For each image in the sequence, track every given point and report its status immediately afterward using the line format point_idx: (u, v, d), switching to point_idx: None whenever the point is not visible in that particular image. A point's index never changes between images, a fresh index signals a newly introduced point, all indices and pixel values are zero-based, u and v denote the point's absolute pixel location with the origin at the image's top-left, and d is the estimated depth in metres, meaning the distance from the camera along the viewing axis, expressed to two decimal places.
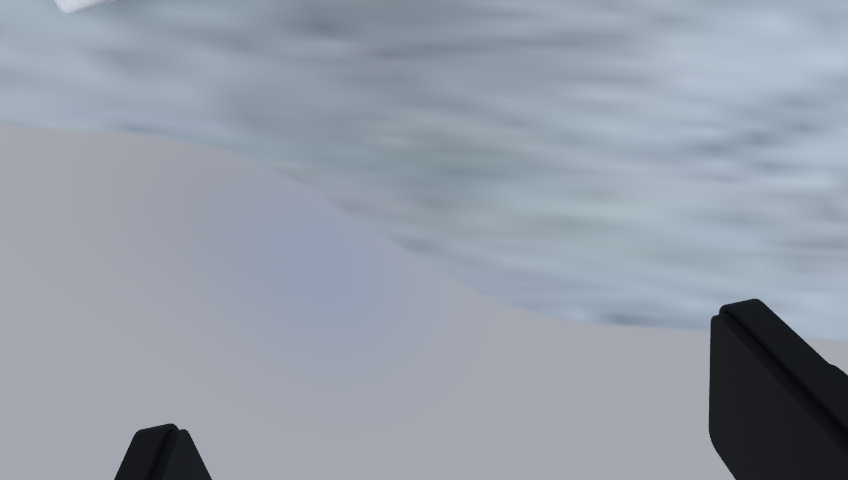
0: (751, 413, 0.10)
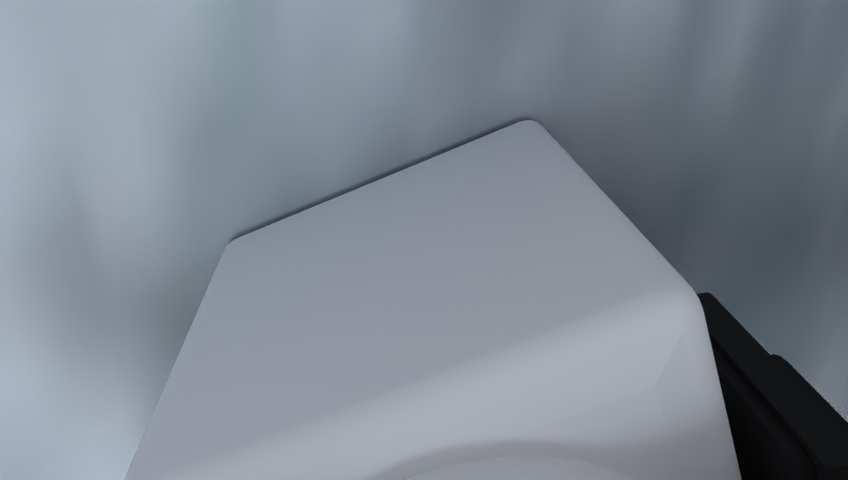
0: None
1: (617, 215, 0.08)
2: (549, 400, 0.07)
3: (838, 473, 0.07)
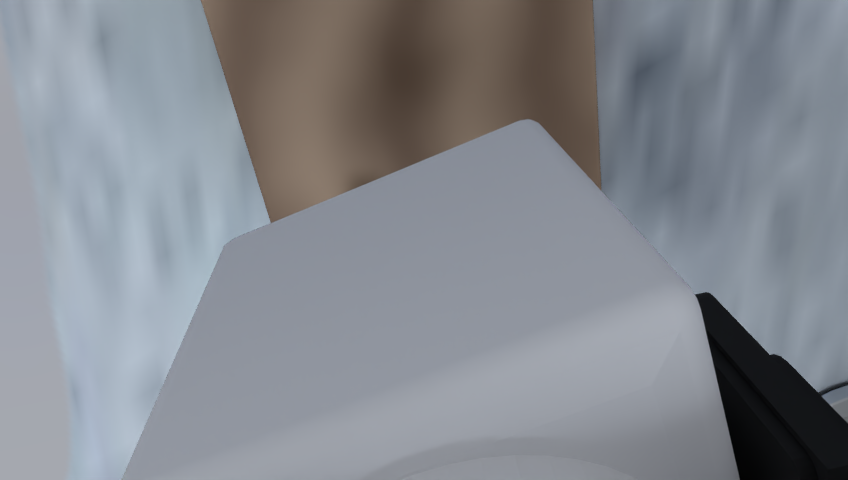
0: None
1: (614, 214, 0.08)
2: (547, 399, 0.07)
3: (837, 473, 0.07)
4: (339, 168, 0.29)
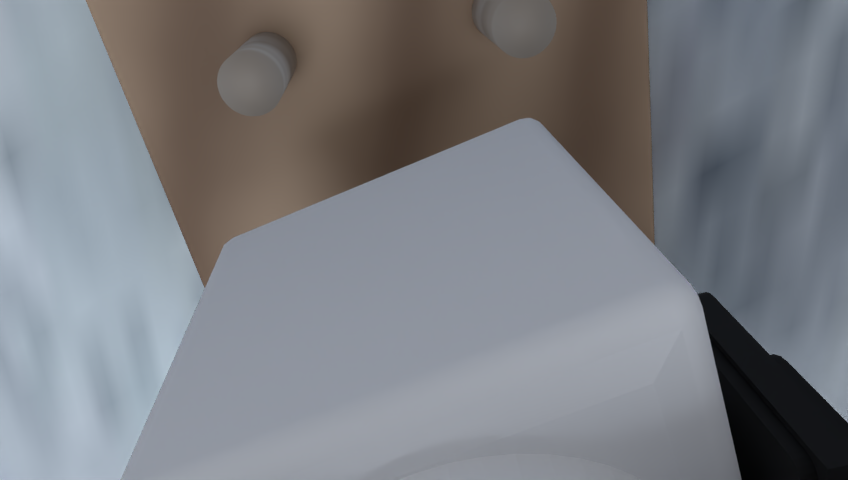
0: None
1: (616, 212, 0.08)
2: (548, 397, 0.07)
3: (838, 473, 0.07)
4: None
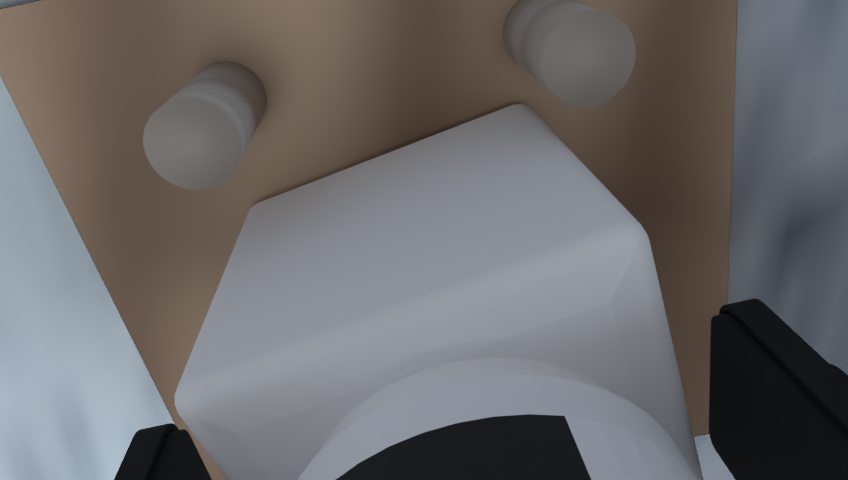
0: (751, 413, 0.10)
1: (587, 176, 0.10)
2: (527, 311, 0.08)
3: None
4: None
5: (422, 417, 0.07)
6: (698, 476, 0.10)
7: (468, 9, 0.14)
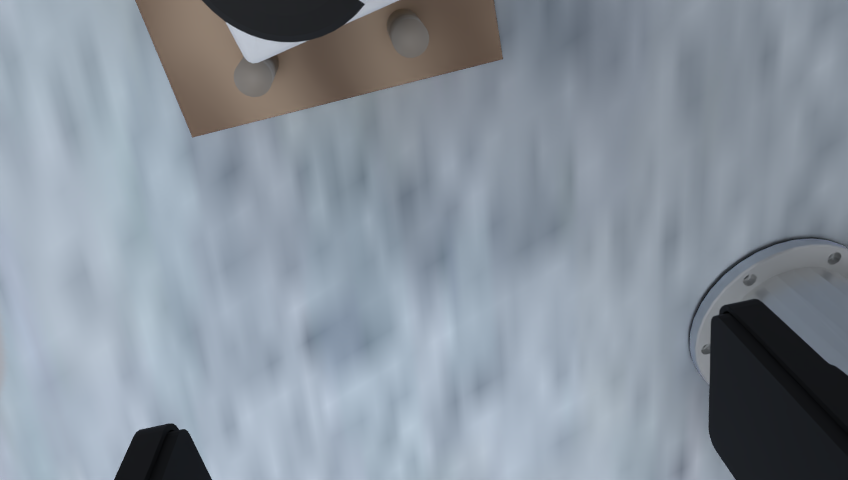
0: (751, 413, 0.10)
1: None
2: None
3: None
4: None
5: None
6: None
7: None
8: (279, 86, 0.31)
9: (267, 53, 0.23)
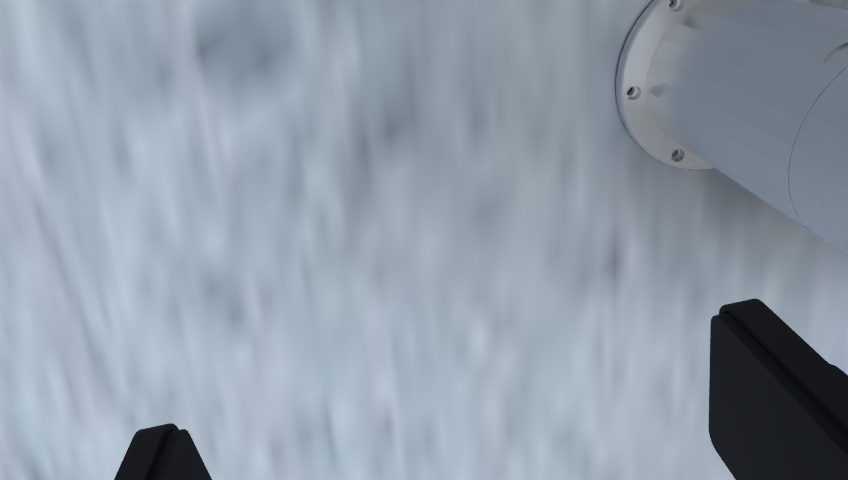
0: (751, 413, 0.10)
1: None
2: None
3: None
4: None
5: None
6: None
7: None
8: None
9: None
